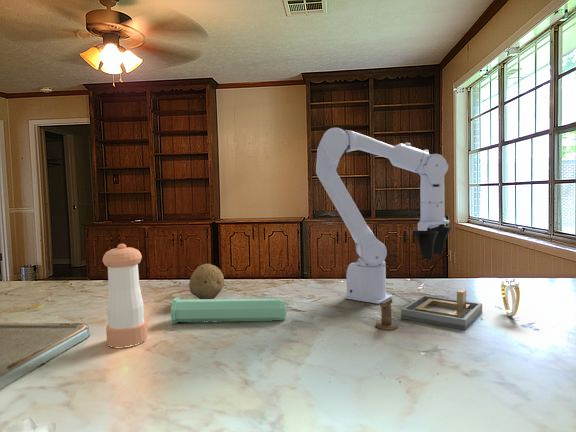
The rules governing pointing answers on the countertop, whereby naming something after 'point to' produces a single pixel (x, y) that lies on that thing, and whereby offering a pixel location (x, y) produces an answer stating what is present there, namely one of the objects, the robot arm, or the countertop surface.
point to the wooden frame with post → (447, 306)
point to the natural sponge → (206, 281)
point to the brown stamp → (386, 316)
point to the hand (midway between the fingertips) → (432, 256)
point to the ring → (515, 302)
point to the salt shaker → (124, 298)
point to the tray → (442, 320)
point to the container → (227, 310)
